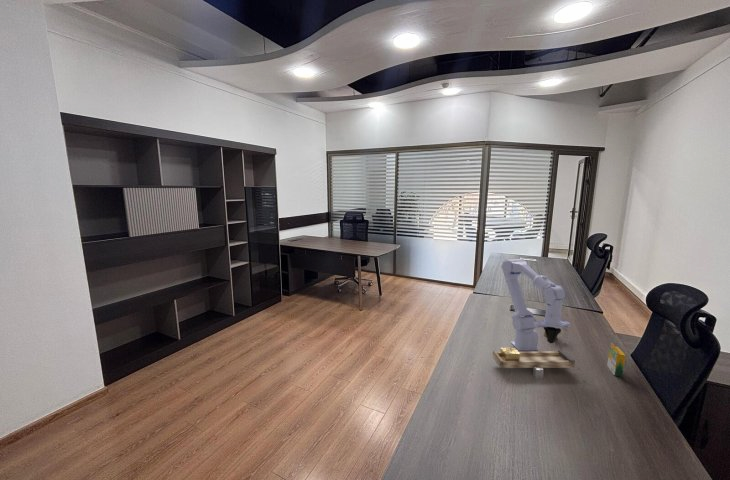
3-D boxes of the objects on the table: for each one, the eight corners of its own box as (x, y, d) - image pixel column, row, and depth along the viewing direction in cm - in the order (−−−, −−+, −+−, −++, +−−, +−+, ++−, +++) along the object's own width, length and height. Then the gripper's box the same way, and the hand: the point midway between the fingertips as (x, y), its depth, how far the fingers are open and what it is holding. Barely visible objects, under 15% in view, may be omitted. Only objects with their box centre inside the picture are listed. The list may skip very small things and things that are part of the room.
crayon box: (622, 377, 121) (627, 351, 119) (614, 375, 122) (617, 350, 120) (615, 367, 128) (618, 342, 126) (606, 365, 129) (610, 341, 127)
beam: (561, 357, 131) (561, 349, 131) (574, 369, 123) (575, 360, 122) (491, 357, 132) (492, 350, 131) (500, 369, 123) (501, 361, 122)
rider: (513, 355, 129) (514, 347, 129) (519, 362, 125) (520, 353, 124) (500, 355, 130) (500, 347, 129) (505, 362, 125) (505, 353, 124)
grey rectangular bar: (525, 359, 134) (526, 351, 134) (542, 378, 121) (543, 369, 120) (518, 359, 134) (519, 351, 134) (535, 378, 121) (536, 369, 120)
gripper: (541, 317, 123) (539, 346, 125) (576, 317, 123) (573, 346, 125) (532, 310, 130) (530, 338, 132) (565, 310, 130) (562, 338, 132)
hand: (550, 342), depth 129 cm, fingers closed
